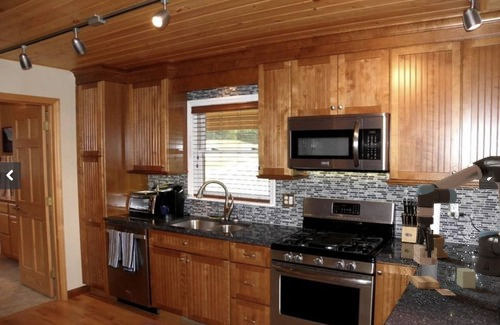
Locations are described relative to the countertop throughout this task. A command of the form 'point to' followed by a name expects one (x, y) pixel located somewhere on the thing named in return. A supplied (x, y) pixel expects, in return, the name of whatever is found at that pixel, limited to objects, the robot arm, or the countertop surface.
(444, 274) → the countertop surface
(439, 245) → the brown rounded piece
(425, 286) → the base
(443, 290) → the page
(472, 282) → the sage brick
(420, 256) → the birch brick
